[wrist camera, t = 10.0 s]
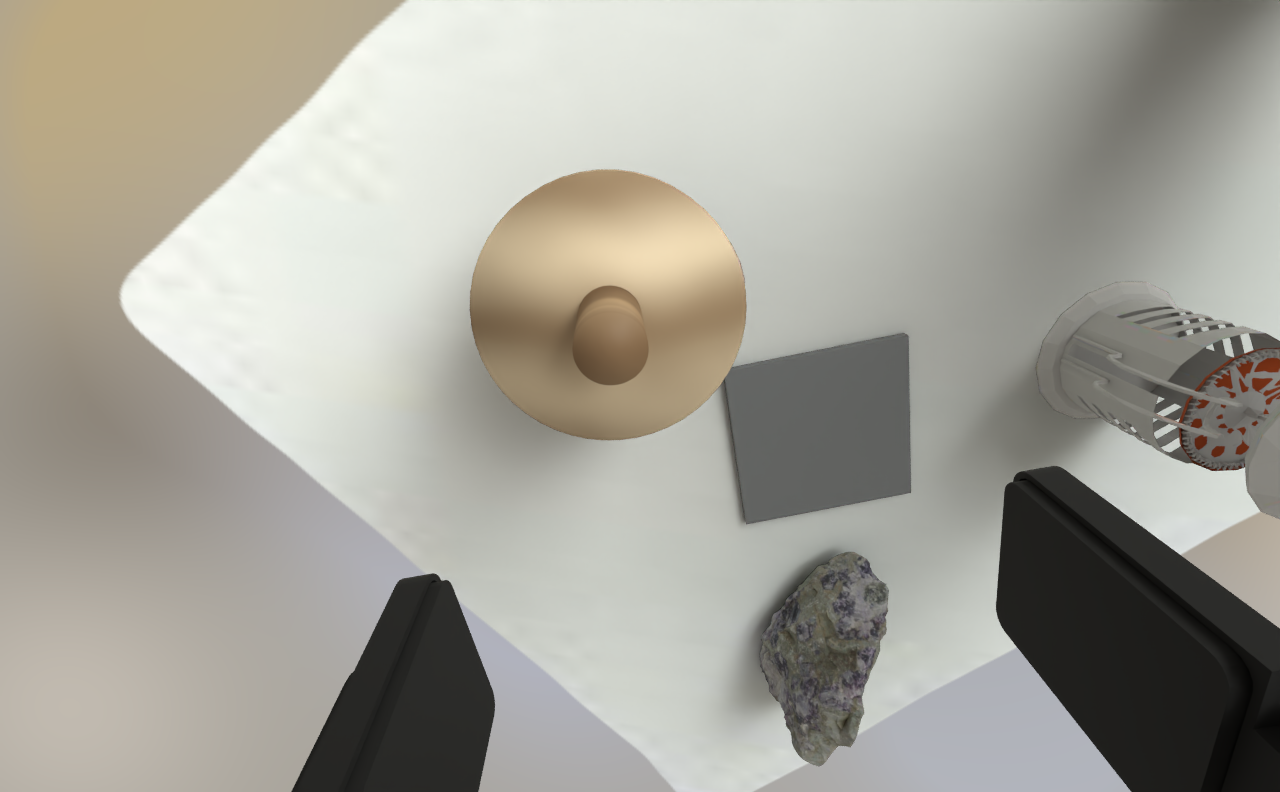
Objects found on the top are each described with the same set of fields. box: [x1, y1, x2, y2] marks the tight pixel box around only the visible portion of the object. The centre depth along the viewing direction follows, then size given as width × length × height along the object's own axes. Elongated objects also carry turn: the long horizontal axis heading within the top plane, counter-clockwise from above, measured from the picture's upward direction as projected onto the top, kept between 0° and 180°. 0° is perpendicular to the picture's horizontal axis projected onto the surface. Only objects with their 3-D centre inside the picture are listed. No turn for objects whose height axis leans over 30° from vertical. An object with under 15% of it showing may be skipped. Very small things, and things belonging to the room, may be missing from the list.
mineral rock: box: [760, 552, 889, 766], centre depth 44 cm, size 13×11×10 cm
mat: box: [724, 333, 911, 524], centre depth 41 cm, size 12×12×1 cm
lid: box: [470, 170, 746, 440], centre depth 25 cm, size 12×12×6 cm
